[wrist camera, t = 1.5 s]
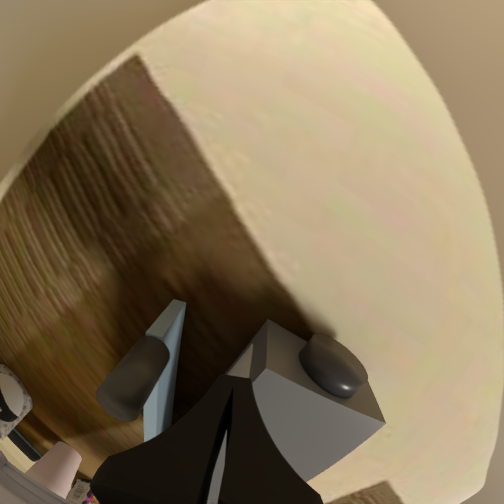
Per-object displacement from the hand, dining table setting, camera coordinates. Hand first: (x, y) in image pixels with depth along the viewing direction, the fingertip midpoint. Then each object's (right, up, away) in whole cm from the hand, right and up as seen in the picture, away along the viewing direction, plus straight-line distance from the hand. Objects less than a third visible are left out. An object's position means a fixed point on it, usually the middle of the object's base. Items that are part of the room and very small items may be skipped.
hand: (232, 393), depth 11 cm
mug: (-28, -9, +10) cm, 31 cm away
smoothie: (-22, -19, +12) cm, 31 cm away
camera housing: (+1, -6, +7) cm, 9 cm away
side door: (-5, -3, +7) cm, 9 cm away
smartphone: (-38, -22, +14) cm, 46 cm away
